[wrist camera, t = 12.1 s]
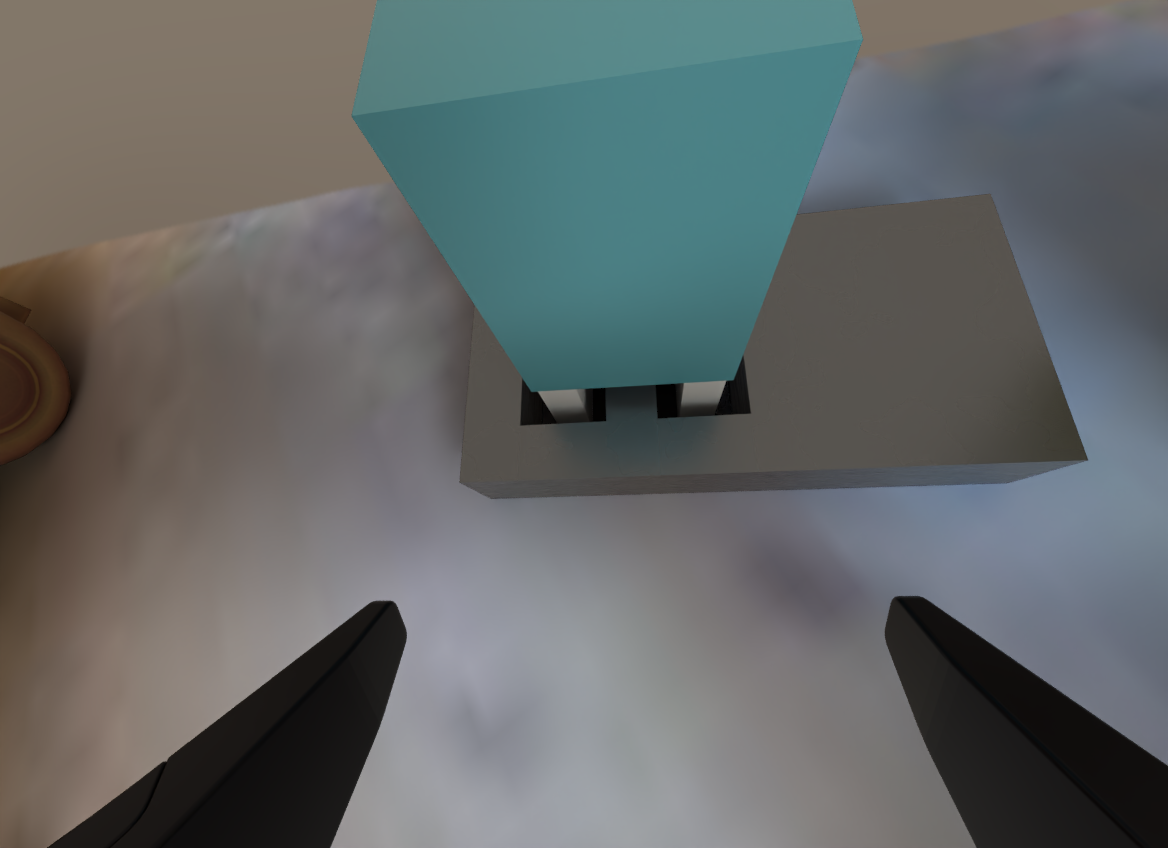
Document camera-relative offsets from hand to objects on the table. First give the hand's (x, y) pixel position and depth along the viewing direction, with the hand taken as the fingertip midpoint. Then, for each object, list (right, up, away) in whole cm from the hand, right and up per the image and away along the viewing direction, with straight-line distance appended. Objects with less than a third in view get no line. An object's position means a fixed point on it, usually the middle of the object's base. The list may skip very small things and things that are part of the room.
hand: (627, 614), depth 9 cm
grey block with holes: (+4, +5, +9) cm, 12 cm away
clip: (+1, +5, +10) cm, 11 cm away
